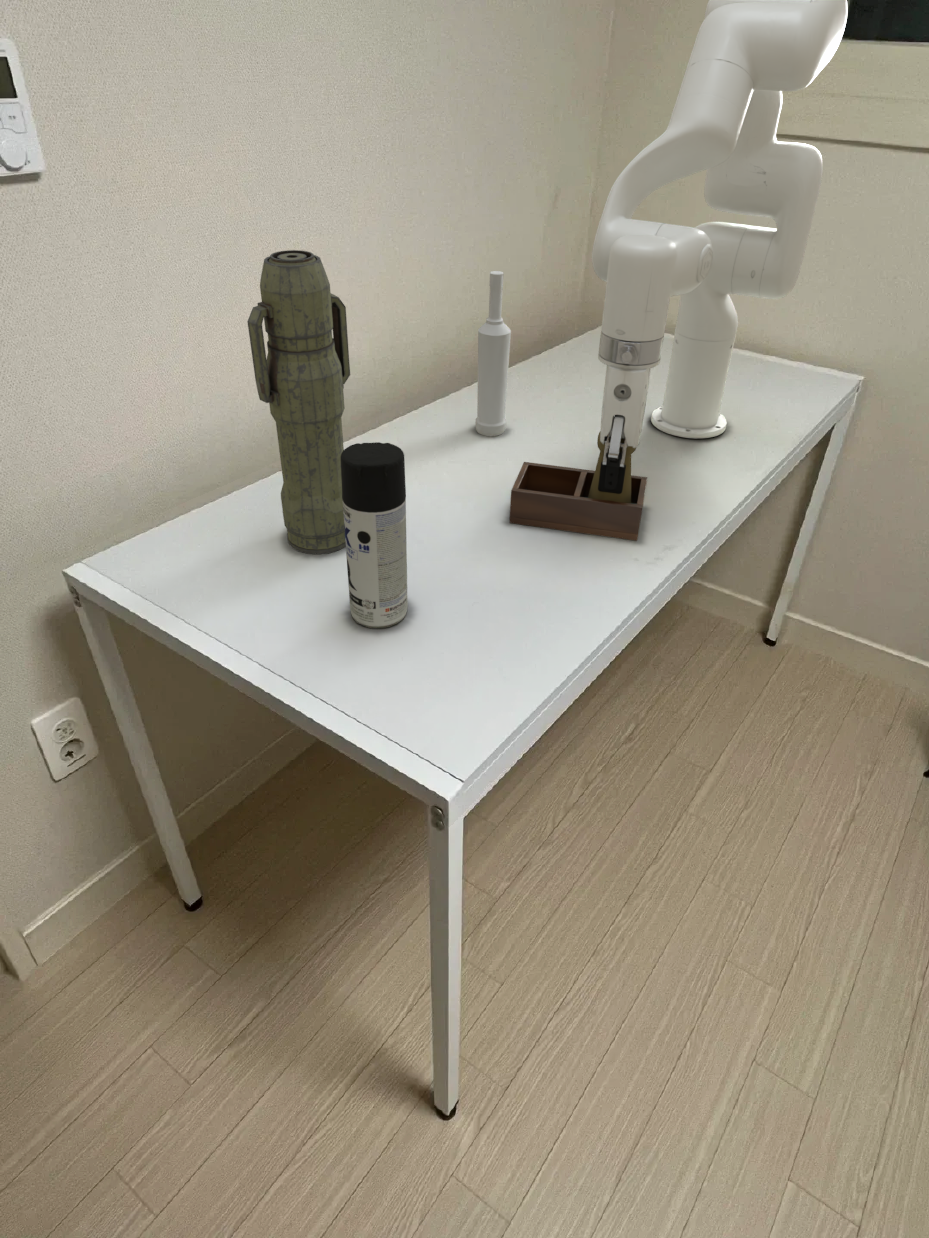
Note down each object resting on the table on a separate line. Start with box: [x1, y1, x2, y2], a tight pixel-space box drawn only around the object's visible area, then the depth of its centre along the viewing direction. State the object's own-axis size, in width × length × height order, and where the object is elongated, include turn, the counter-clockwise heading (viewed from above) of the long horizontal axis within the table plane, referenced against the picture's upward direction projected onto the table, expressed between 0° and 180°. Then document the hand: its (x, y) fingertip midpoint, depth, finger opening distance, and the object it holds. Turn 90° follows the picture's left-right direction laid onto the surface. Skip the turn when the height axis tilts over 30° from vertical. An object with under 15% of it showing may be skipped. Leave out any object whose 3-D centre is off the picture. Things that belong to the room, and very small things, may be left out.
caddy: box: [508, 461, 648, 541], centre depth 114 cm, size 9×17×5 cm, turn 76°
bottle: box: [475, 270, 512, 437], centre depth 131 cm, size 5×5×25 cm
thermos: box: [247, 249, 351, 555], centre depth 99 cm, size 9×12×35 cm
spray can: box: [341, 441, 409, 629], centre depth 90 cm, size 7×7×20 cm
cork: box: [588, 431, 637, 504], centre depth 110 cm, size 6×6×11 cm
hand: (611, 482), depth 111 cm, fingers closed on cork, 4 cm apart
